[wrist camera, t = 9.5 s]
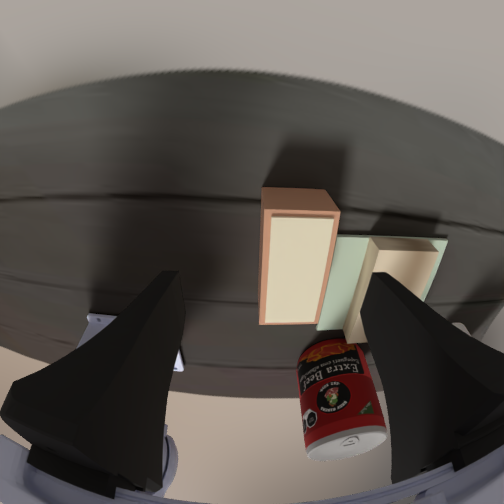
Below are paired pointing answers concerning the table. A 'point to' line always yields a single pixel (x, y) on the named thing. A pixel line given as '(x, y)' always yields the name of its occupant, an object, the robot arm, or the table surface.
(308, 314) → the brown and cream block
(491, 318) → the table surface
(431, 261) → the beige block
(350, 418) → the canned food
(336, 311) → the mat
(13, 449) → the robot arm
